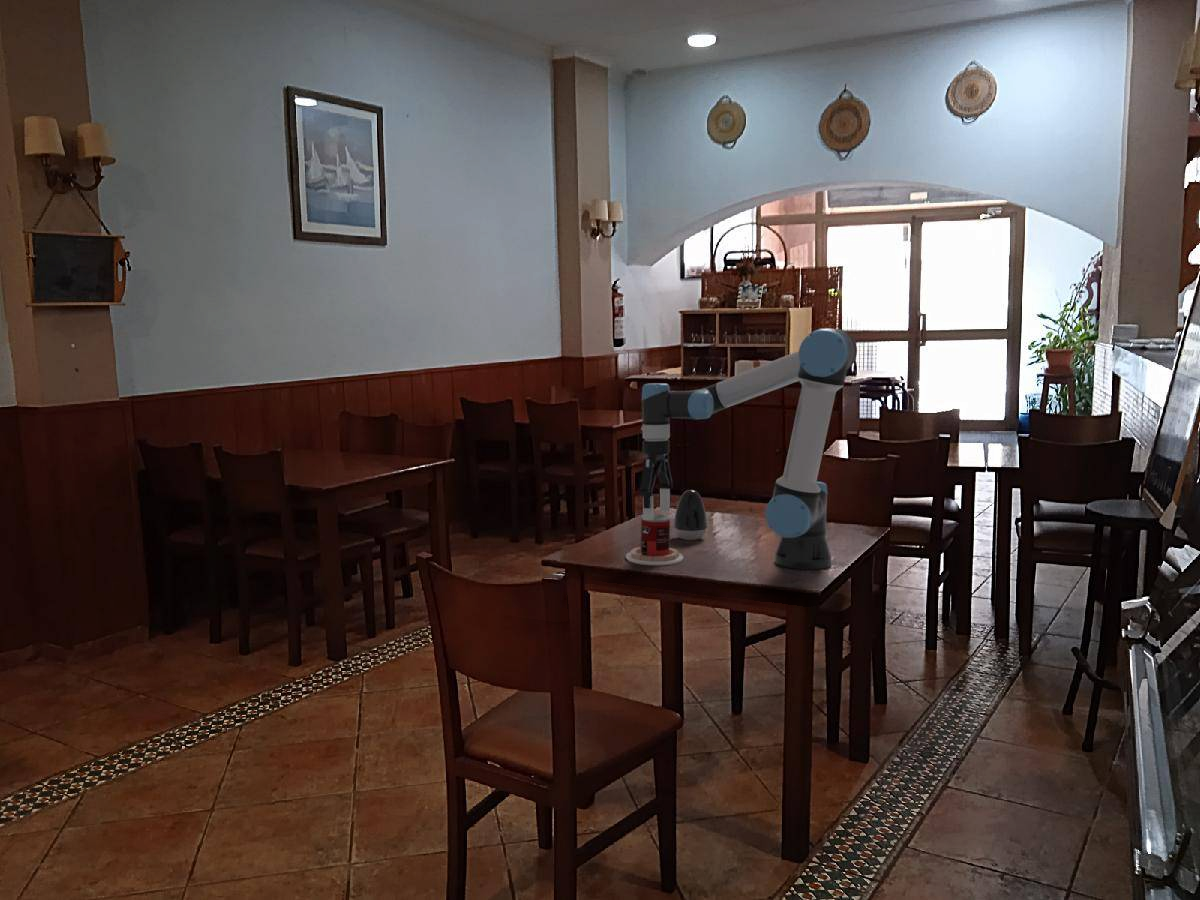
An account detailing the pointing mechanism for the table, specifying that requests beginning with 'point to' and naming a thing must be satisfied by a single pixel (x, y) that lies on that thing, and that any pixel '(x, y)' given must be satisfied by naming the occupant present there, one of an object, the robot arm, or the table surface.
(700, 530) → the dark grey rounded dome
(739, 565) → the table surface
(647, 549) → the canned food
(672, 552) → the dish
